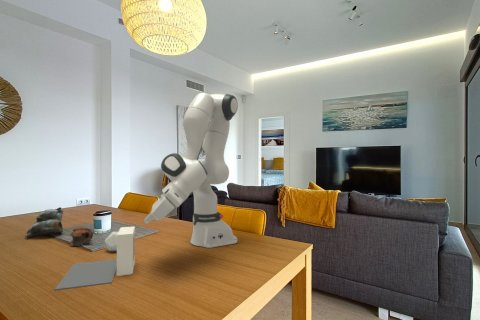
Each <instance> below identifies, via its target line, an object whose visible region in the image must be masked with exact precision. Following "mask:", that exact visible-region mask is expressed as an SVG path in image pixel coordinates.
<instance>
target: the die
mask: <svg viewBox="0 0 480 320" xmlns="http://www.w3.org/2000/svg"><path fill="white" fill-rule="evenodd" d="M118 232H119V231H112V232H111V233H109V235H108V236H107V237H106V239H105V240H104V243H105V245H106V247H107V250H108V252H117V234H118Z"/></svg>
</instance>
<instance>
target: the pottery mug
mask: <svg viewBox="0 0 480 320" xmlns="http://www.w3.org/2000/svg"><path fill="white" fill-rule="evenodd" d="M72 231H73V232H71V233H70V234H69V235H70V236H71V238H72V240H71V241H69V247H74V246H75V247H81V246H80V245H83V246H84V244H89V243H90V241H91V240H92V239H93V237H94V233H93V231H92V229H91V228H87V227H85V228H84V227H78V228H75V229H73V230H72Z"/></svg>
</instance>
